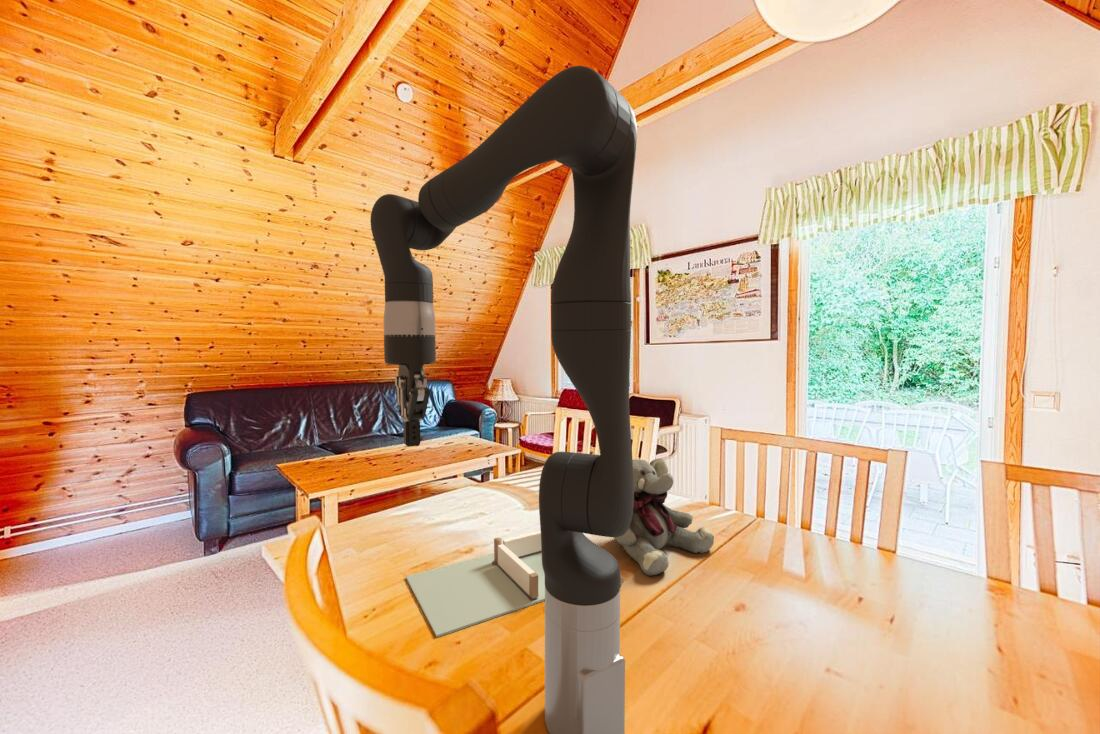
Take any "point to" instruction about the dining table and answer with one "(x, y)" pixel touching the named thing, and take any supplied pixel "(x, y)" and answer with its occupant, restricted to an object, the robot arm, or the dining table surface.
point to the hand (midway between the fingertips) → (412, 445)
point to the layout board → (472, 592)
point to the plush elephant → (658, 520)
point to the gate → (518, 571)
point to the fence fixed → (520, 544)
